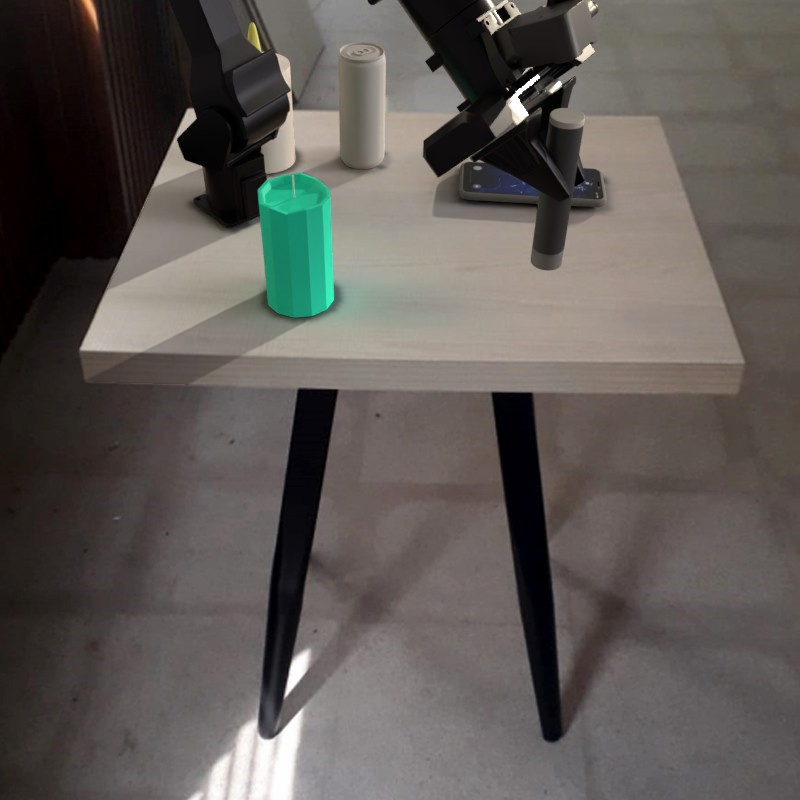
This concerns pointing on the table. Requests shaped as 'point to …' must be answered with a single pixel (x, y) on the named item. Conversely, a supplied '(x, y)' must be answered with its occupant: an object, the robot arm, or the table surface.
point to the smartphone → (522, 186)
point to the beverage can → (362, 104)
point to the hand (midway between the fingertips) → (573, 191)
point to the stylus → (565, 153)
